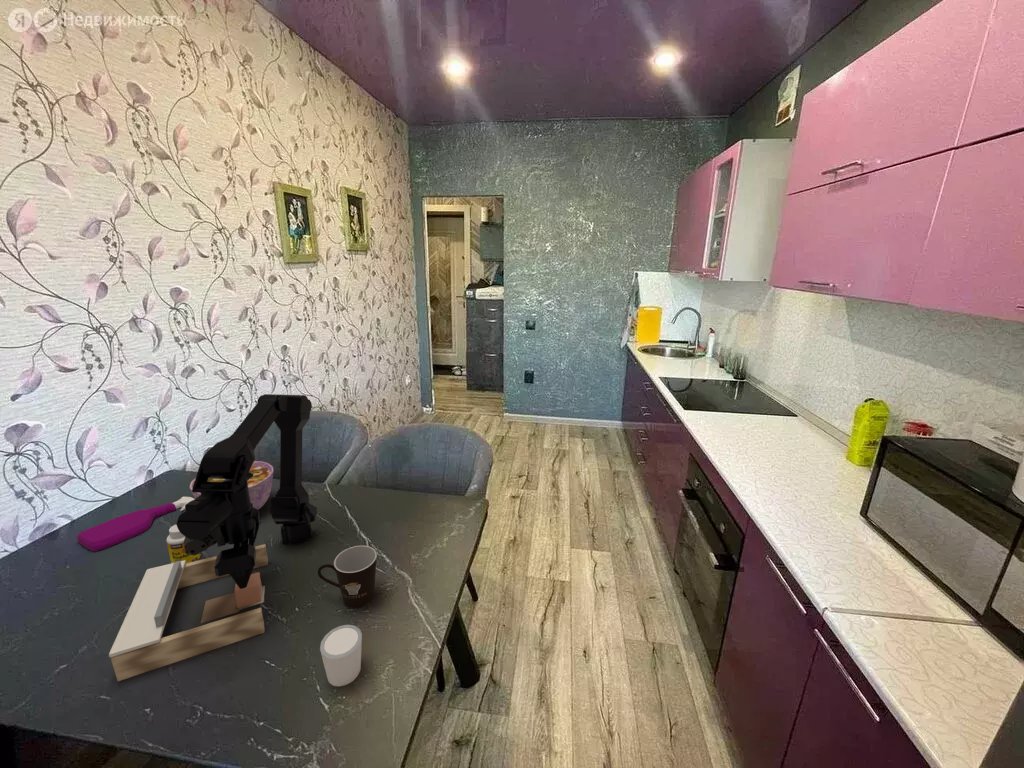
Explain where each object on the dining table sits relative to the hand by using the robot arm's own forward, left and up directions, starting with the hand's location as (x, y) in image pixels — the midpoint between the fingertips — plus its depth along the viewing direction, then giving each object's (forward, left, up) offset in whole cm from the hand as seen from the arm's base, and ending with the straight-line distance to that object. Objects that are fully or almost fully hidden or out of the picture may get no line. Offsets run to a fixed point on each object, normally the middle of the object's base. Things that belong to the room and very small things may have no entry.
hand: (245, 573), depth 85 cm
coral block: (0, 0, -7) cm, 7 cm away
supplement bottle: (+14, -20, -8) cm, 26 cm away
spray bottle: (+28, -46, -8) cm, 54 cm away
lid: (+15, 0, -1) cm, 15 cm away
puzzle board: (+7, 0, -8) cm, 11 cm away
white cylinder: (-16, +26, -8) cm, 31 cm away
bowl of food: (+5, -40, -8) cm, 41 cm away
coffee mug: (-20, +8, -8) cm, 23 cm away
